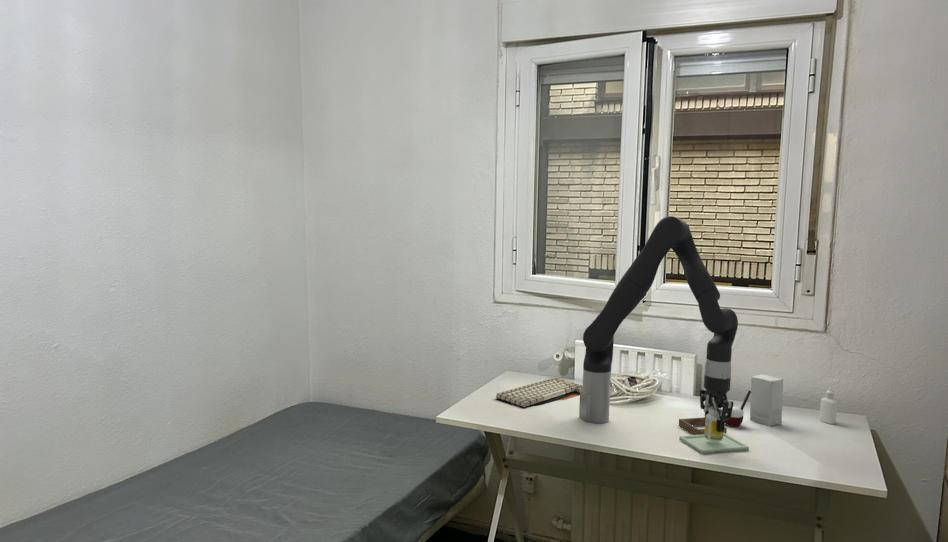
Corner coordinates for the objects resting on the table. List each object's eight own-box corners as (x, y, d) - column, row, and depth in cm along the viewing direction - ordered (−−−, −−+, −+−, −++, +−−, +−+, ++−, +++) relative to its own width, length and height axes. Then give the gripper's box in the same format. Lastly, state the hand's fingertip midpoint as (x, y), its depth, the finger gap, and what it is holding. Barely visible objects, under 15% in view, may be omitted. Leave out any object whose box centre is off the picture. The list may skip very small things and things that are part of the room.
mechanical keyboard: (530, 412, 226) (530, 403, 225) (491, 400, 239) (491, 391, 239) (592, 393, 252) (593, 384, 252) (554, 383, 266) (554, 375, 265)
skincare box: (781, 424, 218) (785, 379, 216) (769, 427, 215) (773, 381, 213) (759, 416, 225) (762, 373, 224) (747, 419, 222) (750, 375, 220)
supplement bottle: (700, 438, 197) (702, 407, 196) (710, 434, 201) (712, 404, 200) (716, 443, 193) (719, 412, 192) (726, 439, 196) (728, 409, 195)
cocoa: (718, 426, 215) (718, 391, 214) (721, 420, 221) (721, 386, 219) (748, 430, 211) (748, 395, 209) (751, 424, 216) (751, 389, 215)
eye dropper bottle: (832, 419, 223) (835, 386, 222) (836, 425, 218) (839, 390, 217) (818, 418, 225) (821, 385, 223) (822, 423, 219) (825, 389, 218)
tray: (701, 454, 189) (702, 450, 189) (679, 439, 201) (679, 436, 201) (748, 450, 193) (749, 446, 193) (724, 436, 205) (724, 432, 204)
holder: (697, 437, 203) (697, 429, 203) (678, 426, 213) (678, 418, 213) (726, 435, 206) (726, 427, 205) (706, 424, 216) (707, 417, 216)
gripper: (693, 368, 201) (689, 421, 202) (721, 381, 187) (717, 437, 189) (714, 367, 203) (710, 419, 204) (743, 380, 189) (739, 435, 190)
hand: (714, 428), depth 196 cm, fingers closed on supplement bottle, 5 cm apart
